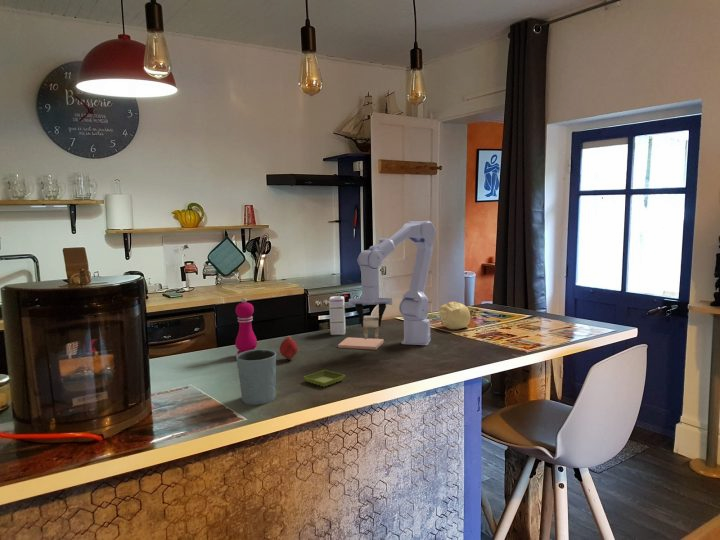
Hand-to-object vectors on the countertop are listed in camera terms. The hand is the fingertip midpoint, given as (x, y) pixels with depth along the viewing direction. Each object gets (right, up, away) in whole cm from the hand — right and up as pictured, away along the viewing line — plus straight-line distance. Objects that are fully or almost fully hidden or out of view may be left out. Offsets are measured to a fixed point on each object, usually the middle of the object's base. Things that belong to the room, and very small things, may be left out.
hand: (371, 325), depth 176 cm
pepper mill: (-42, -11, +1) cm, 43 cm away
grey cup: (-30, -15, -40) cm, 52 cm away
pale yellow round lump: (+35, -5, +35) cm, 50 cm away
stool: (0, -3, 0) cm, 3 cm away
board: (-3, -8, +12) cm, 15 cm away
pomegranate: (-27, -11, -5) cm, 30 cm away
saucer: (-14, -14, -27) cm, 33 cm away
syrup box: (-12, -6, +30) cm, 33 cm away
